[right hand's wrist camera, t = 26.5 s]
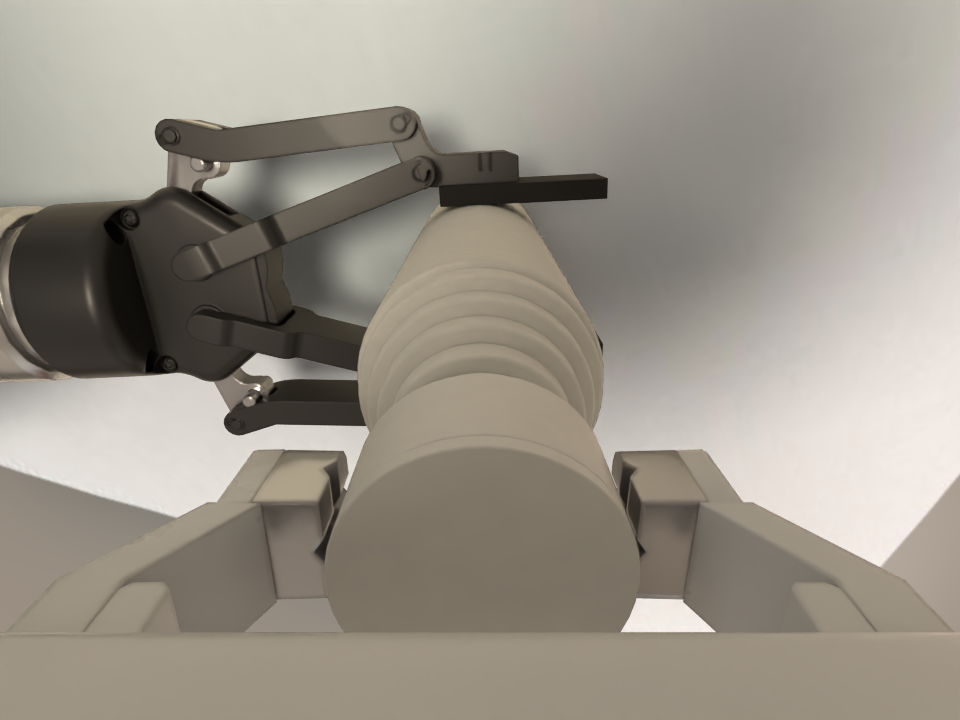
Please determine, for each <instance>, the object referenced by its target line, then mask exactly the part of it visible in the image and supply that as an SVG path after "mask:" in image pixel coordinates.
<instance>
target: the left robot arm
mask: <svg viewBox="0 0 960 720" xmlns="http://www.w3.org/2000/svg"><path fill="white" fill-rule="evenodd" d="M155 137H156V140H157V142H158V144H159V145H160V146H161V147H162V148H163V149H164V150H166V151H168V175H167V187H166V188H162V189H160V190H158V191H156V192H155V193H154V194H153V195H151V196H150V197H148V198H146V199H144V200H131V201H113V202H94V203H75V204H58V205H52V206H48V207H46V208H43V207H39V206H18V207H0V382H19V381H51V380H62V379H69V378H71V377H76V378H106V377H128V376H149V375H161V374H169V373H184V374H189V375H192V376H195V377H197V378H199V379H201V380H205V381H210V382H214V383H215V384H216V386H217V388H218V390H219V392H220V393H221V395H222V397H223V399H224V401H225V402H226V404H227V406H228V408H229V409H230V412H229V413H228V414H227V415H226V417H225V418H224V425H225V428H226V429H227V430H228V431H229V432H230V433H232V434H234V435H244V434H247V433H251V432H254V431H257V430H260V429H263V428H266V427H269V426H273V425H276V424H284V425H339V426H366V423H365V421H364V417H363V414H362V411H361V406H360V400H359V390H358V380H312V379H294V380H284V381H279V382H275V383H273V380H272V378H271V377H269V376H251V375H248V374H246V373H245V372H244V371H243V370H242V369H241V366H242V365H243V364H245V363H246V362H247V361H248V360H249V359H251V358H252V357H253V356H254V355H255V354H256V353H261V354H265V355H269V356H273V357H278V358H283V359H290V358H297V357H298V358H303V359H307V360H311V361H316V362H320V363H324V364H328V365H332V366H336V367H341V368H345V369H349V370H353V371H357V372H358V360H359V352H360V348H361V344H362V341H363V337H364V335H365V333H366V330H367V328H366V327H362V326H358V325H354V324H350V323H346V322H342V321H338V320H334V319H330V318H326V317H322V316H318V315H316V314H315V313H314V312H313V311H311V310H308V309H305V308H301V307H297V306H293V305H291V300H290V295H289V292H288V290H287V288H286V286H285V284H284V282H283V279H282V270H283V255H282V250H281V246H282V245H284V244H287V243H289V242H292V241H294V240H297V239H299V238H302V237H304V236H307V235H309V234H312V233H314V232H317V231H319V230H322V229H324V228H327V227H329V226H332V225H334V224H337V223H339V222H342V221H345V220H347V219H350V218H352V217H355V216H357V215H360V214H362V213H365V212H367V211H370V210H372V209H375V208H377V207H380V206H382V205H385V204H387V203H390V202H392V201H395V200H397V199H400V198H403V197H405V196H408V195H410V194H413V193H415V192H418V191H420V190H423V189H427V188H428V187H439V194H440V207H453V206H472V205H491V204H511V203H530V202H549V201H568V200H588V199H607V186H608V178H605V177H603V176H600V175H597V174H576V175H557V176H538V177H519V168H518V155H516V154H513V153H510V152H508V151H505V150H496V151H478V152H459V153H442V152H439V151H437V150H436V149H434V148H433V147H432V146H431V144H430V142H429V141H428V138H427V136H426V134H425V131H424V129H423V127H422V124H421V120H420V117H419V116H418V114H417V113H416V112H415V111H413V110H411V109H408V108H405V107H400V106H394V107H387V108H379V109H372V110H364V111H357V112H349V113H342V114H334V115H327V116H319V117H312V118H304V119H296V120H289V121H281V122H274V123H266V124H259V125H251V126H244V127H236V128H230V127H226V126H222V125H218V124H214V123H210V122H206V121H202V120H186V119H164V120H162V121H160V122H159V123H158V124H157V126H156V129H155ZM387 142H392V143H393V145H394V147H395V150H396V152H397V154H398V156H399V159H400V161H401V163H399V164H397V165H395V166H392V167H390V168H387V169H385V170H382V171H380V172H377V173H375V174H372V175H370V176H367V177H365V178H362V179H360V180H357V181H355V182H353V183H350V184H348V185H345V186H343V187H340V188H338V189H335V190H333V191H330V192H328V193H325V194H323V195H320V196H318V197H316V198H313V199H311V200H308V201H306V202H303V203H301V204H298V205H296V206H293V207H291V208H288V209H286V210H283V211H281V212H278V213H276V214H274V215H271V216H269V217H266V218H264V219H261V220H259V221H256V222H254V221H252V220H250V219H249V218H247V217H245V216H244V215H242V214H240V213H239V212H237V211H236V210H234V209H232V208H231V207H229V206H227V205H226V204H224V203H222V202H221V201H219V200H217V199H216V198H214V197H212V196H211V195H209V194H207V193H206V192H204V191H203V190H202V186H203V184H204V182H205V181H206V180H207V179H211V178H217V177H221V176H224V175H225V174H226V173H227V172H228V170H229V167H230V162H241V161H249V160H257V159H264V158H272V157H280V156H287V155H295V154H303V153H311V152H318V151H326V150H334V149H341V148H349V147H357V146H364V145H372V144H380V143H387ZM595 332H596V331H595ZM596 334H597V333H596ZM597 337H598V335H597ZM598 340H599V344H600V347H601V351H602V353H603V344H602V342H601V340H600V338H599V337H598Z"/></svg>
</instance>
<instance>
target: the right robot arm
mask: <svg viewBox="0 0 960 720" xmlns="http://www.w3.org/2000/svg"><path fill="white" fill-rule="evenodd" d="M347 476H348V466H347V458H346V455H345V453H344V451H313V450H287V451H286V450H284V449H283V450H257V451H254V452H253V453H252V454H251V455H250V457H249V458H248V460H247V461H246V462H245V464H244V465H243V467H242V468H241V469H240V471H239V472H238V474H237V475H236V476H235V478H234V479H233V480H232V482H231V483H230V485H229V486H228V487H227V489H226V490H225V492H224V493H223V494H222V496H221V497H220V499H219V500H218V501H217V502H213V503H206V504H204V505H202V506H200V507H198V508H196V509H194V510H192V511H190V512H188V513H186V514H184V515H182V516H180V517H178V518H176V519H174V520H172V521H170V522H168V523H166V524H164V525H162V526H160V527H158V528H156V529H154V530H152V531H150V532H148V533H147V534H145V535H143V536H141V537H139V538H137V539H135V540H133V541H131V542H129V543H127V544H125V545H123V546H121V547H119V548H117V549H115V550H113V551H111V552H109V553H107V554H105V555H103V556H101V557H99V558H97V559H95V560H93V561H91V562H89V563H87V564H85V565H83V566H82V567H80V568H78V569H76V570H74V571H72V572H70V573H68V574H66V575H64V576H62V577H60V578H58V579H56V580H55V581H54V582H53V583H52V584H51V585H50V586H49V587H48V588H47V589H46V590H45V592H43V593H42V595H41V596H40V597H39V598H38V599H37V600H36V601H35V602H34V603H33V604H32V605H31V606H30V607H29V608H28V609H27V610H26V611H25V612H24V613H23V614H22V616H21V617H20V618H19V619H18V620H17V621H16V622H15V623H14V624H13V625H12V626H11V627H10V628H9V629H8V630H7V631H6V632H0V720H960V632H954V631H953V630H952V629H951V628H950V627H949V626H948V625H947V624H946V623H945V622H944V621H943V619H942V618H941V617H940V616H939V615H938V614H937V613H936V612H935V611H934V610H933V609H932V608H931V607H930V606H929V605H928V604H927V603H926V602H925V601H924V599H923V598H922V597H921V596H920V595H919V594H918V593H917V592H916V591H915V590H914V589H913V588H912V587H911V586H910V585H909V584H908V583H907V581H906V580H904V579H902V578H900V577H898V576H896V575H894V574H892V573H890V572H888V571H886V570H884V569H882V568H880V567H878V566H876V565H874V564H872V563H870V562H868V561H866V560H864V559H862V558H860V557H859V556H857V555H855V554H853V553H851V552H849V551H847V550H845V549H843V548H841V547H839V546H837V545H835V544H833V543H831V542H829V541H827V540H825V539H823V538H821V537H819V536H817V535H815V534H813V533H811V532H809V531H807V530H806V529H804V528H802V527H800V526H798V525H796V524H794V523H792V522H790V521H788V520H786V519H784V518H782V517H780V516H778V515H776V514H774V513H772V512H770V511H768V510H766V509H764V508H762V507H760V506H758V505H756V504H754V503H748V502H743V501H742V500H741V499H740V497H739V496H738V494H737V493H736V492H735V490H734V489H733V488H732V486H731V485H730V483H729V482H728V481H727V479H726V478H725V476H724V475H723V474H722V472H721V471H720V470H719V468H718V467H717V465H716V464H715V463H714V461H713V460H712V459H711V457H710V456H709V454H708V453H707V452H706V451H704V450H702V449H697V450H662V451H621V452H615V455H614V459H613V465H612V476H613V479H614V481H615V484H616V487H617V488H616V489H617V491H618V494H619V496H620V499H621V502H622V504H623V507H624V509H625V512H626V515H627V517H628V520H629V523H630V525H631V528H632V530H633V533H634V535H635V539H636V543H637V546H638V550H639V557H640V567H641V570H640V584H639V589H638V593H637V597H636V598H652V599H684V600H683V602H684V603H685V604H686V605H687V606H688V607H690V608H691V609H692V610H693V611H694V612H695V613H696V614H697V615H698V616H699V617H700V618H702V619H703V620H704V621H705V622H706V623H707V624H708V625H709V626H710V627H711V628H712V629H714V630H715V631H716V632H245V631H246V630H247V629H248V628H249V627H250V626H251V625H252V624H253V623H254V622H255V621H257V620H258V619H259V618H260V617H261V616H262V615H263V614H264V613H265V612H266V611H267V610H269V609H270V608H271V607H272V606H273V605H274V604H275V603H276V599H307V598H328V597H327V591H326V586H325V578H324V563H325V556H326V549H327V545H328V542H329V539H330V536H331V533H332V530H333V527H334V525H335V522H336V519H337V516H338V514H339V511H340V508H341V505H342V503H343V500H344V497H345V494H346V492H347V491H346V490H345V489H344V484H345V481H346V479H347Z"/></svg>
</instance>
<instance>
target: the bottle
mask: <svg viewBox="0 0 960 720" xmlns="http://www.w3.org/2000/svg"><path fill="white" fill-rule="evenodd" d="M468 374H494V375H504V376H509V377H514V378H519V379H522V380H525V381H528V382H531V383H534V384H536V385H538V386H541V387H543V388H545V389H547V390H549V391H551V392H552V393H554V394H556V395H557V396H559V397H560V398H562V399H563V400H565V401H566V402H567V403H568V404H569V405H570V406H572V407H573V408H574V409H575V410H576V411H577V412H578V413H579V414H580V415H581V416H582V418H583V419H584V420H585V421H586V422H587V424H588V425H589V427H590V428H591V430H593V428H594V426H595V424H596V422H597V418H598V415H599V412H600V408H601V402H602V396H603V358H602V351H601V347H600V344H599V340H598V337H597V334H596V332H595V330H594V328H593V325H592V323H591V321H590V319H589V318H588V316H587V314H586V313H585V311H584V309H583V307H582V306H581V304H580V302H579V301H578V299H577V297H576V296H575V294H574V292H573V290H572V289H571V287H570V285H569V284H568V282H567V280H566V279H565V277H564V275H563V273H562V272H561V270H560V268H559V267H558V265H557V263H556V262H555V260H554V258H553V256H552V255H551V253H550V251H549V250H548V248H547V246H546V245H545V243H544V241H543V239H542V238H541V236H540V234H539V233H538V231H537V229H536V228H535V226H534V224H533V222H532V221H531V219H530V217H529V216H528V214H527V213H526V211H525V209H524V208H523V207H522V206H521V205H520V204H519V203H511V204H491V205H472V206H453V207H440V203H439V204H438V206H437V207H436V208H435V209H434V211H433V212H432V214H431V215H430V217H429V219H428V221H427V222H426V224H425V226H424V228H423V230H422V231H421V233H420V235H419V237H418V238H417V240H416V242H415V244H414V245H413V247H412V249H411V251H410V253H409V254H408V256H407V258H406V260H405V261H404V263H403V265H402V267H401V268H400V270H399V272H398V274H397V276H396V277H395V279H394V281H393V283H392V284H391V286H390V288H389V290H388V292H387V293H386V295H385V297H384V299H383V300H382V302H381V304H380V306H379V307H378V309H377V311H376V313H375V315H374V316H373V318H372V320H371V322H370V323H369V326H368V328H367V330H366V333H365V335H364V337H363V341H362V344H361V348H360V352H359V360H358V390H359V400H360V406H361V411H362V414H363V417H364V421H365V423H366V426H367V428H368V430H369V432H370V431H371V430H372V429H373V427H374V426H375V424H376V423H377V422H378V420H379V419H380V418H381V417H382V416H383V415H384V414H385V413H386V411H387V410H388V409H389V408H390V407H392V406H393V405H394V404H395V403H397V402H398V401H399V400H400V399H402V398H403V397H405V396H406V395H408V394H410V393H411V392H413V391H415V390H416V389H419V388H421V387H423V386H425V385H428V384H430V383H432V382H436V381H439V380H442V379H446V378H449V377H455V376H461V375H468Z"/></svg>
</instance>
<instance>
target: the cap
mask: <svg viewBox="0 0 960 720" xmlns="http://www.w3.org/2000/svg"><path fill="white" fill-rule="evenodd" d="M640 570H641V567H640V557H639V550H638V546H637V543H636V539H635V535H634V533H633V530H632V528H631V525H630V523H629V520H628V517H627V515H626V512H625V509H624V507H623V504H622V502H621V499H620V496H619V494H618V491H617V489H616V486H615V483H614V481H613V478H612V476H611V473H610V470H609V468H608V465H607V463H606V460H605V458H604V455H603V452H602V450H601V447H600V445H599V443H598V441H597V438H596V436H595V434H594V433H593V431H592V430H591V428H590V427H589V425H588V424H587V422H586V421H585V420H584V419H583V418H582V416H581V415H580V414H579V413H578V412H577V411H576V410H575V409H574V408H573V407H572V406H570V405H569V404H568V403H567V402H566V401H565V400H563V399H562V398H560V397H559V396H557V395H556V394H554V393H552V392H551V391H549V390H547V389H545V388H543V387H541V386H538V385H536V384H534V383H531V382H528V381H525V380H522V379H519V378H514V377H509V376H504V375H494V374H468V375H461V376H455V377H449V378H446V379H442V380H439V381H436V382H432V383H430V384H428V385H425V386H423V387H421V388H419V389H416V390H415V391H413V392H411V393H410V394H408V395H406V396H405V397H403V398H402V399H400V400H399V401H398V402H397V403H395V404H394V405H393V406H392V407H390V408H389V409H388V410H387V411H386V413H385V414H384V415H383V416H382V417H381V418H380V419H379V420H378V422H377V423H376V424H375V426H374V427H373V429H372V430H371V431H370V433H369V435H368V437H367V439H366V441H365V443H364V445H363V448H362V451H361V453H360V456H359V459H358V462H357V464H356V467H355V470H354V473H353V475H352V478H351V481H350V484H349V486H348V489H347V492H346V494H345V497H344V500H343V503H342V505H341V508H340V511H339V514H338V516H337V519H336V522H335V525H334V527H333V530H332V533H331V536H330V539H329V542H328V545H327V549H326V556H325V563H324V578H325V586H326V591H327V597H328V600H329V603H330V606H331V608H332V611H333V614H334V616H335V618H336V619H337V621H338V623H339V625H340V627H341V629H342V630H343V631H344V632H621V630H622V628H623V627H624V625H625V623H626V622H627V620H628V618H629V616H630V614H631V612H632V609H633V607H634V604H635V602H636V597H637V593H638V589H639V584H640Z"/></svg>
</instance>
